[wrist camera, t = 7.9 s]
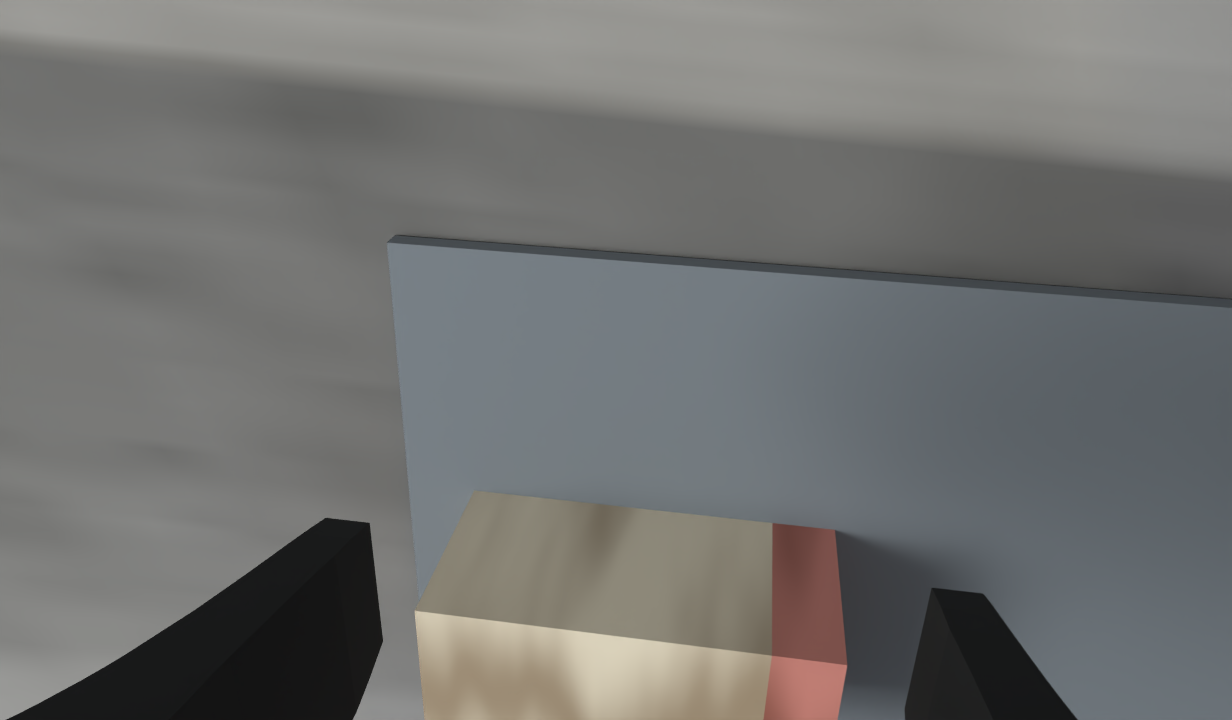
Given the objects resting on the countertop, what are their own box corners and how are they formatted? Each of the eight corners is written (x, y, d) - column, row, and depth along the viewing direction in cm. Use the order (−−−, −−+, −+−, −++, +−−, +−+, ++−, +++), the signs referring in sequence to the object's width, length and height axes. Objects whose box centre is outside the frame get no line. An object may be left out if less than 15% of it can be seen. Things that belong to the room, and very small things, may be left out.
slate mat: (1279, 852, 26) (1288, 868, 26) (437, 732, 29) (431, 745, 29) (1553, 323, 19) (1572, 334, 18) (394, 235, 22) (386, 242, 21)
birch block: (817, 831, 21) (429, 774, 22) (810, 682, 25) (481, 639, 26) (847, 665, 19) (414, 610, 20) (834, 529, 23) (474, 490, 24)
